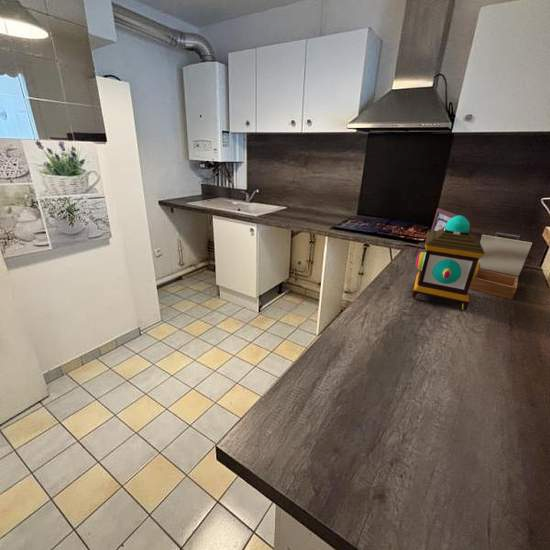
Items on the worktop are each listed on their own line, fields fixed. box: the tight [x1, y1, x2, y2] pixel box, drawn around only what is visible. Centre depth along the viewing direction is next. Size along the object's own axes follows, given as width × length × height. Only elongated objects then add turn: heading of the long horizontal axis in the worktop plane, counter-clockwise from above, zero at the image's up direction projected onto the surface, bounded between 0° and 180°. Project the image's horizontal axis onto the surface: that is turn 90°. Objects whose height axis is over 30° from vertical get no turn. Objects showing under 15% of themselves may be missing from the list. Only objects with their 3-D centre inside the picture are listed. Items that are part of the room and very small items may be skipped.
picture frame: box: [424, 207, 459, 252], centre depth 136 cm, size 17×10×25 cm, turn 178°
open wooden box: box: [469, 268, 519, 301], centre depth 116 cm, size 14×16×5 cm
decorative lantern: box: [411, 214, 484, 311], centre depth 103 cm, size 20×20×30 cm
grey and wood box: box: [478, 231, 533, 277], centre depth 118 cm, size 14×16×10 cm
